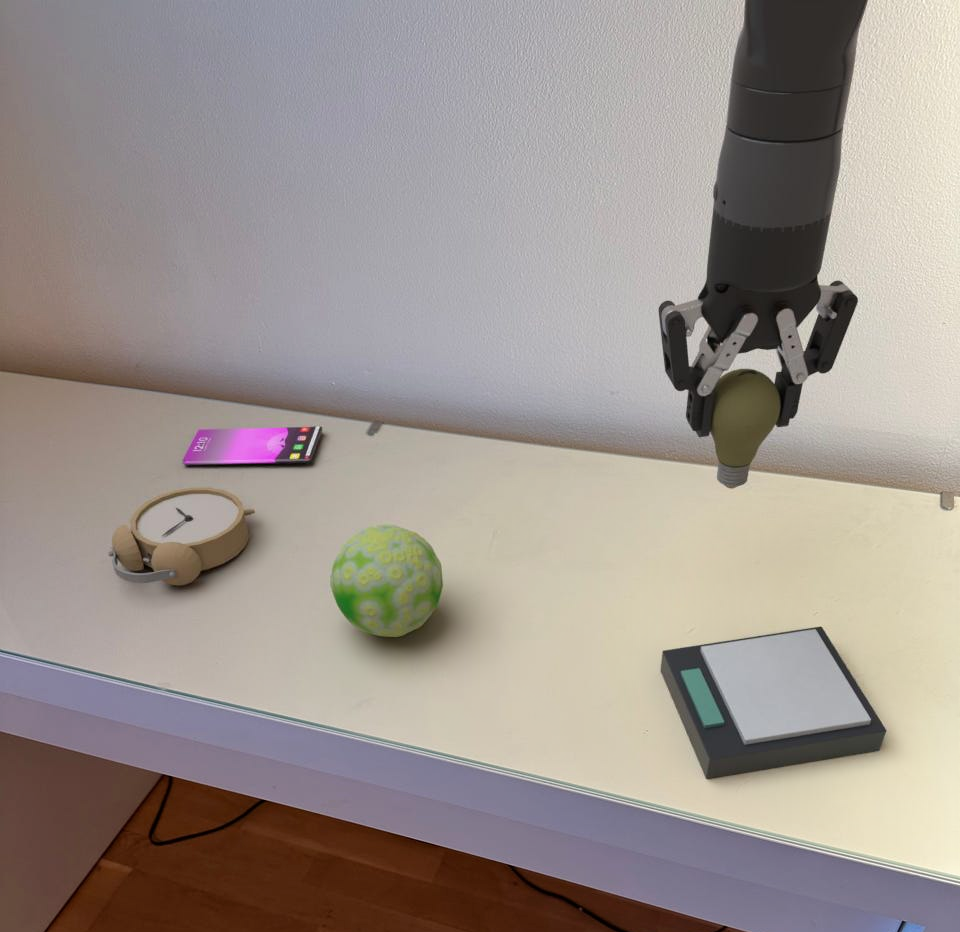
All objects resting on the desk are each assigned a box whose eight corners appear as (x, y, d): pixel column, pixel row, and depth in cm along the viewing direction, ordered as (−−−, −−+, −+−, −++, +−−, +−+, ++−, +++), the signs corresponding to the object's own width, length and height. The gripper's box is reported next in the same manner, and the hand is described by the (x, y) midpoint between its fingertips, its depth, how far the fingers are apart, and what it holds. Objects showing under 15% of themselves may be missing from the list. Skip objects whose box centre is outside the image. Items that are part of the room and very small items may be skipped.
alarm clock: (268, 501, 98) (164, 565, 87) (272, 544, 101) (172, 610, 90) (184, 476, 102) (74, 534, 91) (190, 518, 105) (85, 578, 94)
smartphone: (311, 466, 108) (310, 459, 107) (182, 466, 109) (180, 460, 108) (324, 431, 113) (322, 425, 112) (200, 432, 114) (198, 425, 114)
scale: (816, 645, 83) (823, 620, 81) (879, 750, 75) (889, 725, 73) (660, 670, 82) (662, 645, 80) (706, 779, 74) (710, 754, 72)
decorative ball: (457, 592, 91) (449, 506, 84) (431, 666, 84) (421, 579, 77) (358, 582, 93) (342, 497, 86) (325, 654, 86) (305, 568, 79)
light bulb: (727, 457, 81) (742, 347, 74) (781, 485, 77) (802, 372, 70) (681, 484, 78) (692, 372, 71) (734, 514, 75) (751, 400, 68)
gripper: (682, 234, 59) (662, 465, 71) (905, 208, 60) (849, 440, 72) (649, 192, 65) (636, 413, 76) (855, 169, 66) (810, 391, 77)
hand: (739, 425), depth 74 cm, fingers closed on light bulb, 5 cm apart
